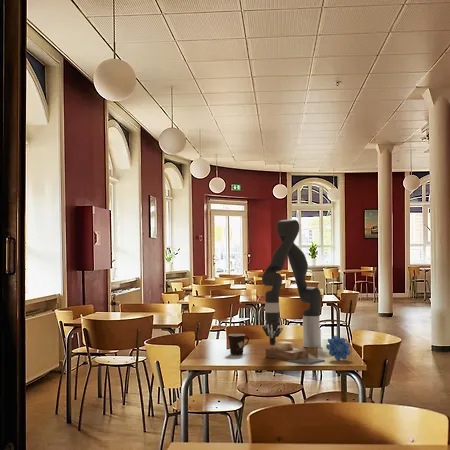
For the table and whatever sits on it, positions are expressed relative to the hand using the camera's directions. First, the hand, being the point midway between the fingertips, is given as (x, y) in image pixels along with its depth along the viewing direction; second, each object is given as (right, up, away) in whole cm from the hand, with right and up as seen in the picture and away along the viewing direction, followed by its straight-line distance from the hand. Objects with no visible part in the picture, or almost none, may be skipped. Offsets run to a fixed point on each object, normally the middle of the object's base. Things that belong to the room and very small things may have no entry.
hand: (272, 345), depth 325 cm
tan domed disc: (+5, -1, -6) cm, 8 cm away
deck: (+7, -5, -7) cm, 11 cm away
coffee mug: (-17, -6, +4) cm, 18 cm away
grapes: (+31, -5, -16) cm, 35 cm away
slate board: (+16, -4, -19) cm, 25 cm away
